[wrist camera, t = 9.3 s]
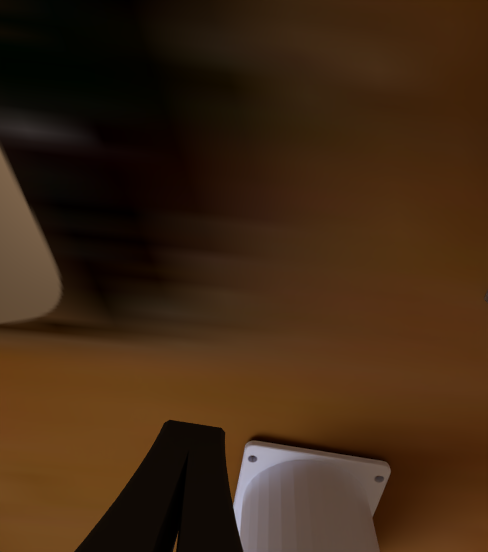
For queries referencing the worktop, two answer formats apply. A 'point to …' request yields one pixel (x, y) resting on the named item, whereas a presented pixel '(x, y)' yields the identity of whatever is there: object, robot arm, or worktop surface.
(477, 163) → the worktop surface
